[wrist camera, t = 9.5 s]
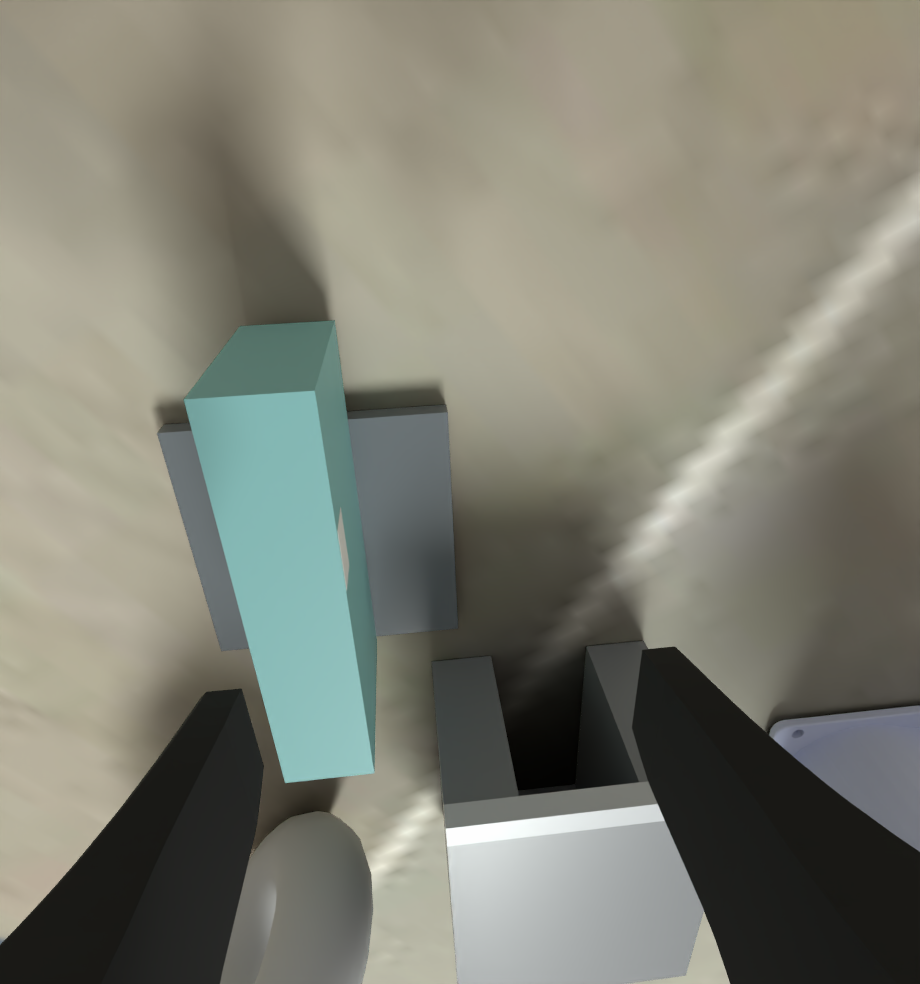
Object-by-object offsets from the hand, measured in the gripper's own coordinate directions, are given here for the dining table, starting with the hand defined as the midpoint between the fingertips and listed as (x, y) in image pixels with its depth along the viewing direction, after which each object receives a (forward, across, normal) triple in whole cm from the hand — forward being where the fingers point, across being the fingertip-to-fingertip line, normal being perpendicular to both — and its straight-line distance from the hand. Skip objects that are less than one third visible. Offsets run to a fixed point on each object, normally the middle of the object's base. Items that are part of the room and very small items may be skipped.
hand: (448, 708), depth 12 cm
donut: (+10, +7, +17) cm, 20 cm away
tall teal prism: (+9, +3, 0) cm, 9 cm away
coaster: (+9, +3, +2) cm, 10 cm away
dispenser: (+9, -4, +12) cm, 15 cm away
